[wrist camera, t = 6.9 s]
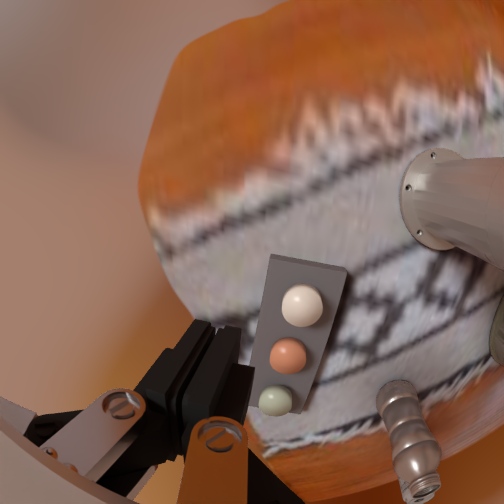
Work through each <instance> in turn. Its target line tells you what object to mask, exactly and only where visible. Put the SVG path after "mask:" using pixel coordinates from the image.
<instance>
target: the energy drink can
mask: <svg viewBox="0 0 504 504" xmlns="http://www.w3.org/2000/svg"><path fill="white" fill-rule="evenodd" d="M398 478H399V482H400V487H401V491H402V496H403V500H404V501H405V502H406V503H407V504H423V503H425V502H427V501H428V500H430V499H431V498H433V497H434V495H435V494H434V493H432V494H430V495H428V496H426V497H423V498H419V499H413V498H412V497H411V492H410V490H409V484H410V483H409V482H407V481H405V480H403V479H402V478H400V477H399V476H398Z"/></svg>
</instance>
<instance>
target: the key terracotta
mask: <svg viewBox="0 0 504 504" xmlns="http://www.w3.org/2000/svg"><path fill="white" fill-rule="evenodd" d="M305 363H306V349H305V346H304V344H303V343H302V342H301V341H300V340H298V339H296V338H293V337H284V338H281V339H279V340H277V341H276V342H275V343H274V344H273V345H272V348H271V353H270V364H271V366H272V368H273V369H274V370H275V371H277V372H279V373H282V374H294V373H297V372H299V371H300V370H301V369H302V368H303V367H304V366H305Z"/></svg>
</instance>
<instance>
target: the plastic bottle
mask: <svg viewBox="0 0 504 504" xmlns="http://www.w3.org/2000/svg"><path fill="white" fill-rule="evenodd" d="M376 408H377V410H378V412H379V414H380V416H381V418H382V419H383V421H384V423H385V426H386V428H387V430H388V433H389V437H390V442H391V447H392V460H393V469H394V471H395V473H396V474H397V475H398V476H399V477H400V478H402V479H403V480H405V481H407V482H409V483H410V484H409V490H410V492H411V497H412V498H413V499H419V498H423V497H426V496H428V495H430V494H432V493H434V492H435V491H437V490H438V489H439V488H440V487H441V482H440V479H439V477H440V476H439V473H437V472H436V470H437V468H438V465H439V463H440V460H441V455H442V454H441V447H440V445H439V443H438V442H437V440H436V439H435V437H434V436H433V434H432V433H431V431H430V430H429V428H428V426H427V424H426V422H425V420H424V418H423V415H422V412H421V409H420V406H419V402H418V396H417V392H416V390H415V389H414V387H413V386H412V385H411V384H410V383H409V382H407V381H403V380H395V381H392V382H389V383H387V384H386V385H384V386H383V387H382V388H381V389H380V391H379V392H378V394H377V397H376Z"/></svg>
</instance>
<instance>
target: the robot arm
mask: <svg viewBox="0 0 504 504" xmlns="http://www.w3.org/2000/svg"><path fill="white" fill-rule="evenodd" d="M431 155H432V158H431ZM406 186H407V187H408V189H407V190H406V188H405V187H406ZM399 201H400V210H401V213H402V217H403V220H404V222H405V224H406V227H407V228H408V230H409V231H410V233H411V234H412V235H413V236H414V237H415V238H416V239H417V240H418V241H419V242H420V243H422V244H423V245H425V246H427V247H429V248H432V249H436V250H448V249H452V248H454V247H459V248H461V249H463V250H465V251H467V252H469V253H471V254H473V255H475V256H477V257H478V258H480V259H482V260H484V261H486V262H488V263H490V264H492V265H494V266H496V267H497V268H499V269H501V270H503V271H504V157H494V158H475V159H464V158H463V157H462V156H460V155H459V154H457V153H455V152H454V151H452V150H448V149H444V148H436V149H430V150H427V151H424V152H422V153H421V154H419V155H418V156H416V157H415V158H414V159H413V160H412V161H411V162H410V164H409V165H408V167H407V168H406V170H405V172H404V175H403V177H402V181H401V185H400V194H399ZM418 230H419V232H418V233H417V231H418ZM215 333H216V328H215V327H212V326H211V323H210V322H207V321H202V320H197V319H195V320H194V321H193V322H192V324H191V325H190V327H189V328H188V329H187V331H186V332H185V334H184V335H183V336H182V338H181V339H180V341H179V342H178V343H177V345H176V346H175V347H174V349H170V348H166V349H165V350H164V351H163V352H162V353H161V355H160V356H159V358H158V359H157V360H156V361H155V363H154V364H153V365H152V366H151V368H150V369H149V370H148V372H147V373H146V374H145V376H144V377H143V378H142V380H141V381H140V382H139V384H138V385H137V386H136V388H135V389H134V390H130V389H124V388H118V389H112V390H109V391H107V392H106V393H104V394H102V395H101V396H100V397H99V398H97V399H96V400H95V401H94V402H93V403H92V404H90V405H89V406H88V407H87V408H86V409H84V410H77V411H71V412H63V413H55V414H45V415H41V416H38V415H37V414H36V413H35V412H33V411H31V410H28V409H26V408H24V407H21V406H19V405H17V404H15V403H13V402H10V401H8V400H6V399H4V398H2V397H0V504H139V503H137V502H134V501H133V500H134V498H135V497H136V496H137V494H138V493H139V492H140V491H141V489H142V488H143V487H144V485H145V484H146V483H147V482H148V480H149V479H150V478H151V477H152V475H153V474H154V473H155V471H156V469H157V468H158V464H162V463H165V462H166V460H170V461H175V459H176V457H177V455H181V456H182V455H183V457H184V470H183V475H182V479H181V484H180V490H179V494H178V499H177V504H305V503H304V502H303V500H302V499H300V498H299V497H298V496H297V495H296V494H295V493H294V492H293V491H292V490H290V489H289V488H288V487H287V486H286V485H285V484H284V483H283V482H282V481H281V480H280V479H279V478H278V477H277V476H276V475H275V474H273V472H272V471H271V470H269V469H268V468H267V467H266V465H265V464H264V463H263V462H262V461H261V460H260V459H258V457H257V456H256V455H255V454H254V453H253V452H252V451H251V450H250V449H249V448H248V434H247V431H246V430H245V428H244V427H243V425H244V421H245V417H246V413H247V409H248V405H249V401H250V396H251V391H252V386H253V380H254V373H255V367H252V366H247V365H241V364H238V357H239V348H240V339H241V328H238V327H232V326H227V325H226V326H225V327H224V329H222V328H219V329H218V331H217V333H216V335H215Z"/></svg>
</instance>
